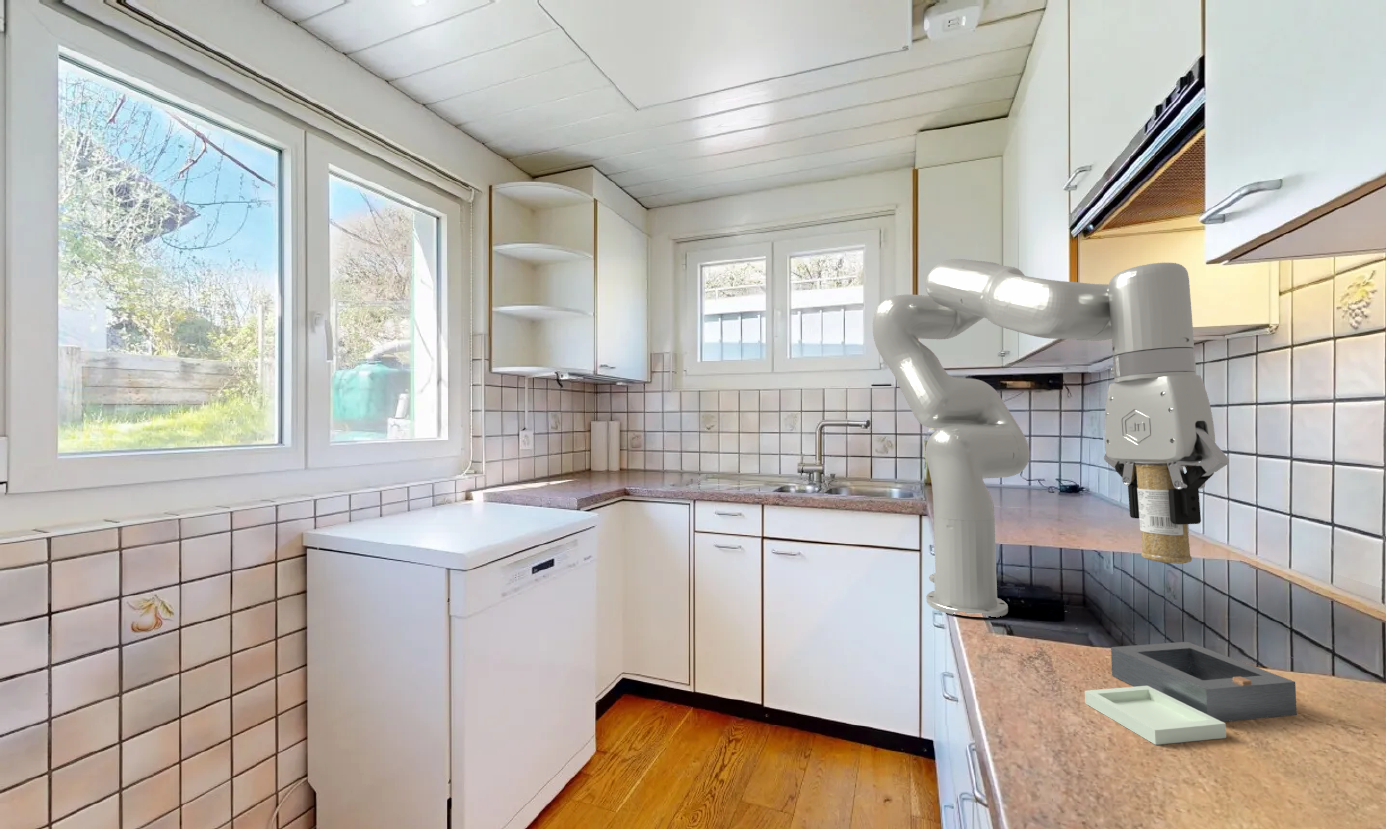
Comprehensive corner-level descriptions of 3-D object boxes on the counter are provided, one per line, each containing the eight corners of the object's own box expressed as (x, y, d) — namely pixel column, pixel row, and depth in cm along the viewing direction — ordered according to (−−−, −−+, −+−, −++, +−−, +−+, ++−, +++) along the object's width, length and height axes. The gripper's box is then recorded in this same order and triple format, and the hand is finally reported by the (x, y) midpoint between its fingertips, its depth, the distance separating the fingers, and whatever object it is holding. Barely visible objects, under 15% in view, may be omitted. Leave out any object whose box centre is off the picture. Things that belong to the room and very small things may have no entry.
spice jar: (1198, 561, 62) (1189, 446, 63) (1183, 566, 60) (1174, 447, 61) (1149, 554, 66) (1141, 446, 67) (1134, 559, 64) (1126, 447, 65)
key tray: (1085, 703, 60) (1084, 690, 60) (1147, 698, 61) (1147, 685, 61) (1155, 744, 52) (1154, 730, 52) (1226, 737, 53) (1225, 723, 53)
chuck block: (1112, 675, 66) (1110, 644, 67) (1188, 669, 68) (1187, 639, 68) (1207, 723, 56) (1206, 686, 56) (1296, 715, 57) (1295, 679, 57)
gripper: (1068, 377, 72) (1077, 513, 71) (1197, 356, 56) (1211, 533, 55) (1119, 377, 73) (1128, 511, 72) (1261, 356, 56) (1276, 530, 55)
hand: (1164, 519), depth 63 cm, fingers closed on spice jar, 4 cm apart
